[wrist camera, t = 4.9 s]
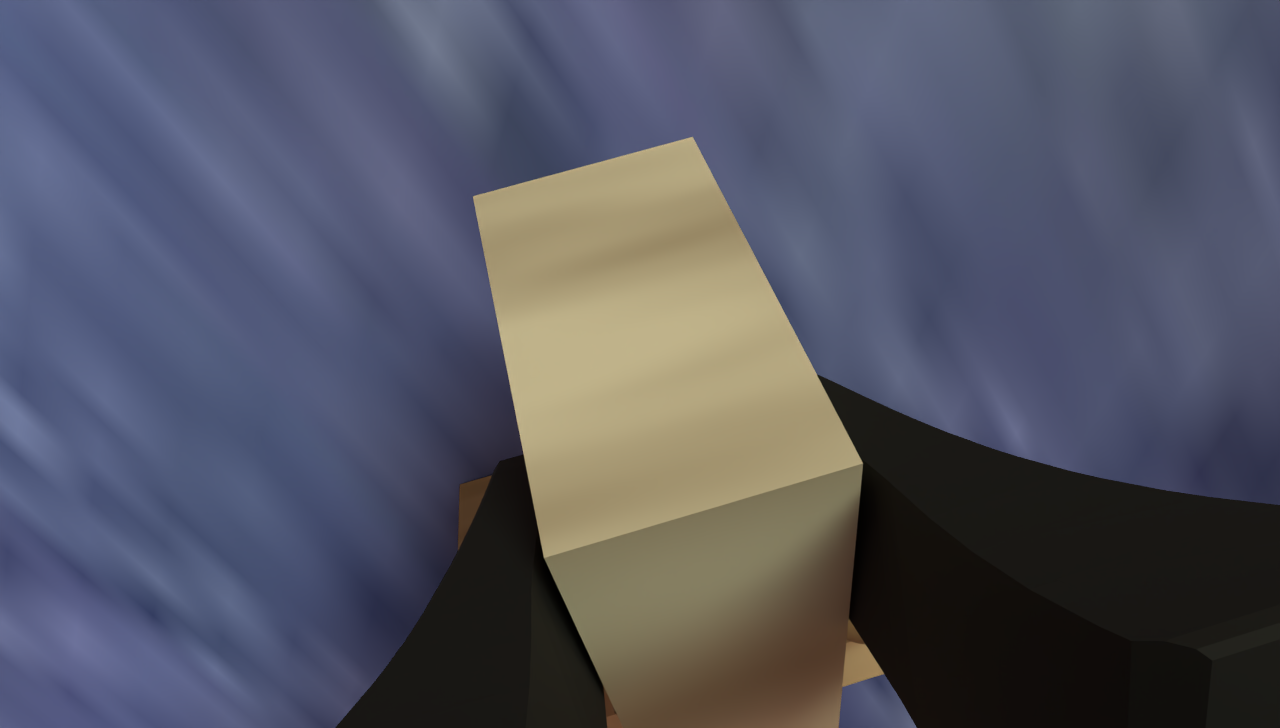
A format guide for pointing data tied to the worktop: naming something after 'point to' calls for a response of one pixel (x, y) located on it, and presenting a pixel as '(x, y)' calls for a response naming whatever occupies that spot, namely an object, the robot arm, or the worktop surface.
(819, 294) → the worktop surface
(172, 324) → the worktop surface
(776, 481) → the beige block
